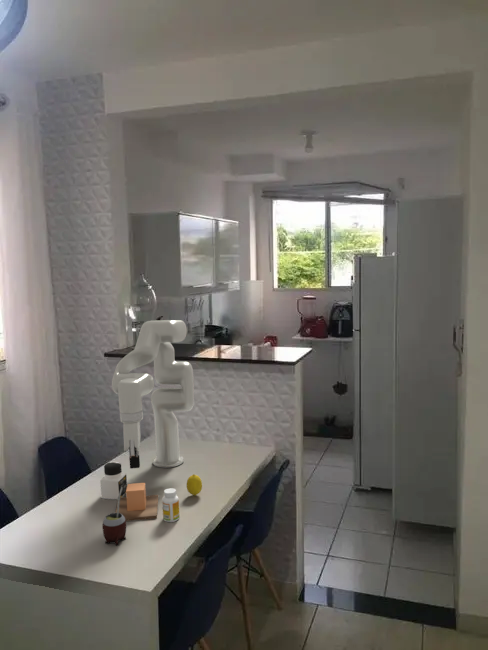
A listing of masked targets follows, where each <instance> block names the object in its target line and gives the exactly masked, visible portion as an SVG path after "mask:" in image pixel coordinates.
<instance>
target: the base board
mask: <svg viewBox="0 0 488 650" xmlns="http://www.w3.org/2000/svg"><path fill="white" fill-rule="evenodd" d="M117 506H118V502H117V503H116V507H115V512H114V513H117ZM158 508H159V494H151V495H146V508H145V510H133V511H127V498H126V497H124V496H122V497H121V498H120V503H119V513H120V514H122V515H123V516H124V517H125V520H126V522H130V521H144V520H154V519H155V520H156V519H157V518H158Z"/></svg>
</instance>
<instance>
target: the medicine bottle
mask: <svg viewBox="0 0 488 650" xmlns="http://www.w3.org/2000/svg"><path fill="white" fill-rule="evenodd" d="M103 469H104V470H103V471H104V476H103V477H102V478H101V479H100V482H99V483H100V495H101V499H103V500H118V496H119V492H120V490H121V487H123V489H122V492H121V495H120V498H123V497H124V496H125V494H126V489H127V485H128V481H127V478H128V477H127V473H125V472H123V471H122V463H120V462H119V461H110V462H107V463H106V464H104V466H103Z"/></svg>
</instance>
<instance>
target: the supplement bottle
mask: <svg viewBox="0 0 488 650" xmlns="http://www.w3.org/2000/svg"><path fill="white" fill-rule="evenodd" d="M161 501H162V502H161V504H162V519H163V521H165V522H167V523H172V522H173V523H174V522H177V521H179V519H180V500H179V496H178V495H177V489H176V488H173V487H171V488H166V489H164V490H163V497H162V498H161Z"/></svg>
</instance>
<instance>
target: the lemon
mask: <svg viewBox="0 0 488 650" xmlns="http://www.w3.org/2000/svg"><path fill="white" fill-rule="evenodd" d="M186 489H187V492H188V493H189V494H191V495H193V496H194V497H196V496H197V495H198V494H200V493H201V491H202V489H203V482H202V479H201V477H200V476H199V475H197V474H192V475H190V476H189V477H188V478H187V481H186Z"/></svg>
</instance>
